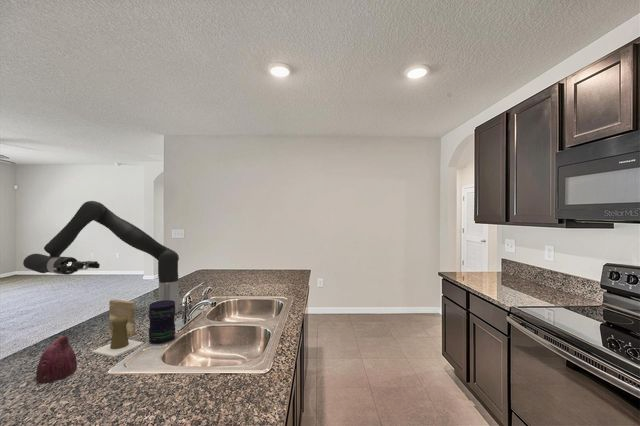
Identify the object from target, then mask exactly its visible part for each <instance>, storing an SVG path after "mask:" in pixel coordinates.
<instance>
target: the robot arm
mask: <svg viewBox="0 0 640 426" xmlns="http://www.w3.org/2000/svg"><path fill="white" fill-rule="evenodd" d="M92 222H96V223H97V224H100V225H102V226H103V227H105V228H107V229H108V230H109V231H110V232H112V233H113V235H115V236H116V237H117V238H118V239H119V240H121V241H122V242H124V243H125V244H127V245H129V246H130V247H132V248H134V249H136V250H138V251H141V252H144V253H146V254H148V255H150V256H152V257H153V258H155V260H157V277H158V301H164V300H172V301H175V315H177V314H178V313H179V312H180V309H181V305H180V303H181V299H180V297H181V296H180V293H179V260H180V257H179V254H178V253H177V252H176V251H174V250H172V249H171V248H169V247H167V246H165V245H163V244H161V243H159V242H158V241H157V240H155V238H154V237H152V236H150V235H149V234H148V233H146V232H145V231H144V230H142V229H141V228H139V227H137V226H136V225H135V224H133V223H130V222H129V221H128V220H125V219H123V218H121V217H120V216H119V215H116V214H115V213H114V212H113V211H111V210H110V209H109V208H108V207H106V206H105V205H104V204H103V203H101V202H99V201H95V200H89V201H85V202H84V203H82V204H81V206H80V207H79V208H78V210H76V213H75V214H74V215H73V216H72V217H71V219H70V220H69V221H68V223H66V225H65V226H64V227H63V228H62V229H61V230H60V231H59V232H58V233H57V234H56V235H55V236H53V238H51V239H50V240H49V241H48V242H47V243H46V244H45V245H44V247H43V249H44V251H45V252H46V253H47V254H49V255H45V254H41V253H31V254H30V255H27V256H26V257H25V258H24V259H23V262H22V265H23V267H24V268H25V269H27V270H31V271H34V272H36V273H39V274H47V273H51V274H52V273H53V274H55V275H56V274H57V275H63V276H64V275H66V276H67V275H69V276H70V275H72V274H74V273H77V272H78V271H82V270H85V271H86V270H88V269H100V267H101V265H100V263H98V260H96V261H95V260H93V261H92V260H87V261H86V260H85V261H81V260H78V259H76V258H75V257H72V256H61V255H62V254H63V253H64V252H65V251H66V250H67V249H68V248H69V247H70V246H71V244H73V243H74V241H75V240H76V239H77V237H78V235H79V234H80V233H81V232H82V230H83V229H84V228H85V227H86V226H87V225H89V224H90V223H92Z"/></svg>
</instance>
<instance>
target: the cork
mask: <svg viewBox="0 0 640 426" xmlns="http://www.w3.org/2000/svg"><path fill="white" fill-rule="evenodd" d="M127 323H128V319H127V317H117V318H115V319H113V321H112V326H113V327H114V328H113V334H111V342H110V343H111V346H110V348H111V349H120V348H123V347H126V346H128V345H129V342H128V340H129V337H128V335H127V328H126V325H127Z"/></svg>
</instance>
